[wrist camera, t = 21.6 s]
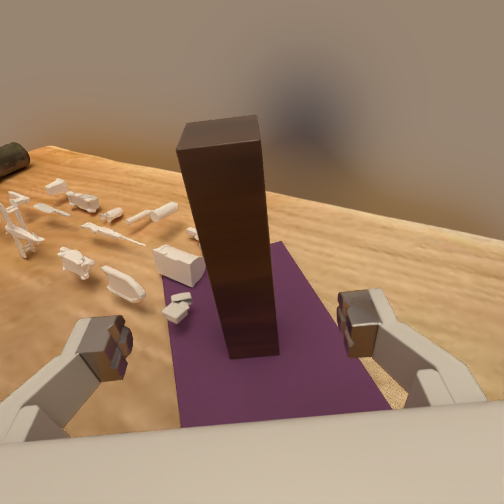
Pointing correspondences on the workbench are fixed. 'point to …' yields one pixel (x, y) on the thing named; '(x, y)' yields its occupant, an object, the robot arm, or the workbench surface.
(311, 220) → the workbench surface
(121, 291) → the miniature set
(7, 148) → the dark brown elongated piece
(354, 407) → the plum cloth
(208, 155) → the walnut stick
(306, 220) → the workbench surface
